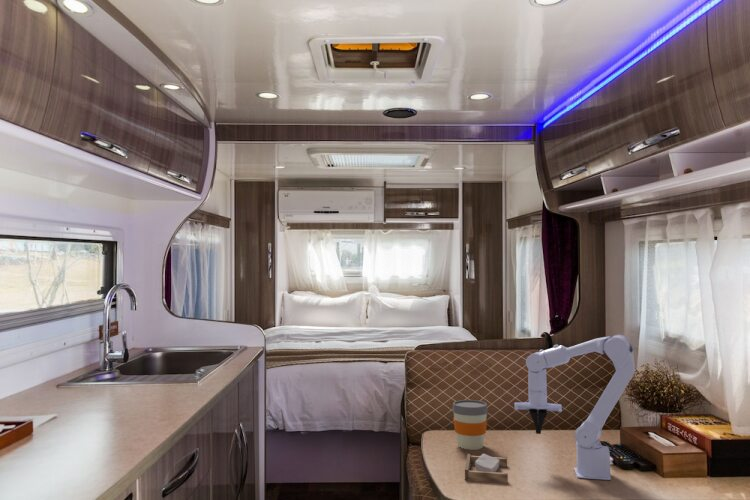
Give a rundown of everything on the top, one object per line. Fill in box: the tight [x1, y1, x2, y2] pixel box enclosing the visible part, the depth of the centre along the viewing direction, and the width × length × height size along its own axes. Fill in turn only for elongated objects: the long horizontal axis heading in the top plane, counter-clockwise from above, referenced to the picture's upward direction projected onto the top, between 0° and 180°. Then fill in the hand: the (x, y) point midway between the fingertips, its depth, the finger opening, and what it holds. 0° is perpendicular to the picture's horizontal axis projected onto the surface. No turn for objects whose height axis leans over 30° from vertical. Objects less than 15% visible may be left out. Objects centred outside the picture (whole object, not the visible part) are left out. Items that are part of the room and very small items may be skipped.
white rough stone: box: [474, 453, 500, 472], centre depth 173 cm, size 10×6×6 cm, turn 147°
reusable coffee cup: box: [452, 399, 489, 451], centre depth 199 cm, size 13×13×15 cm
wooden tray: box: [464, 453, 509, 484], centre depth 171 cm, size 12×15×3 cm
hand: (538, 432), depth 178 cm, fingers closed
